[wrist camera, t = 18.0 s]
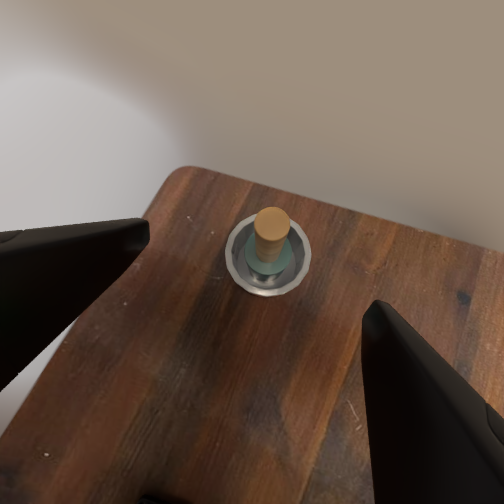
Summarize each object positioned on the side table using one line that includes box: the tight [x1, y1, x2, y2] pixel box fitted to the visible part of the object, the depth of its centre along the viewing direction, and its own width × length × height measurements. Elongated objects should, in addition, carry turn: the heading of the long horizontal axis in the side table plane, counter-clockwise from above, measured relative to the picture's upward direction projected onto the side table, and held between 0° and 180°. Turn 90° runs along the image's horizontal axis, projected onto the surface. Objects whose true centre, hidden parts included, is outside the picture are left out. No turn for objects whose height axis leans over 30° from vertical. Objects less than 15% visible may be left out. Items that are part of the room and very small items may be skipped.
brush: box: [244, 207, 292, 282], centre depth 16 cm, size 4×4×11 cm
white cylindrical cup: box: [225, 214, 311, 298], centre depth 20 cm, size 7×7×5 cm
